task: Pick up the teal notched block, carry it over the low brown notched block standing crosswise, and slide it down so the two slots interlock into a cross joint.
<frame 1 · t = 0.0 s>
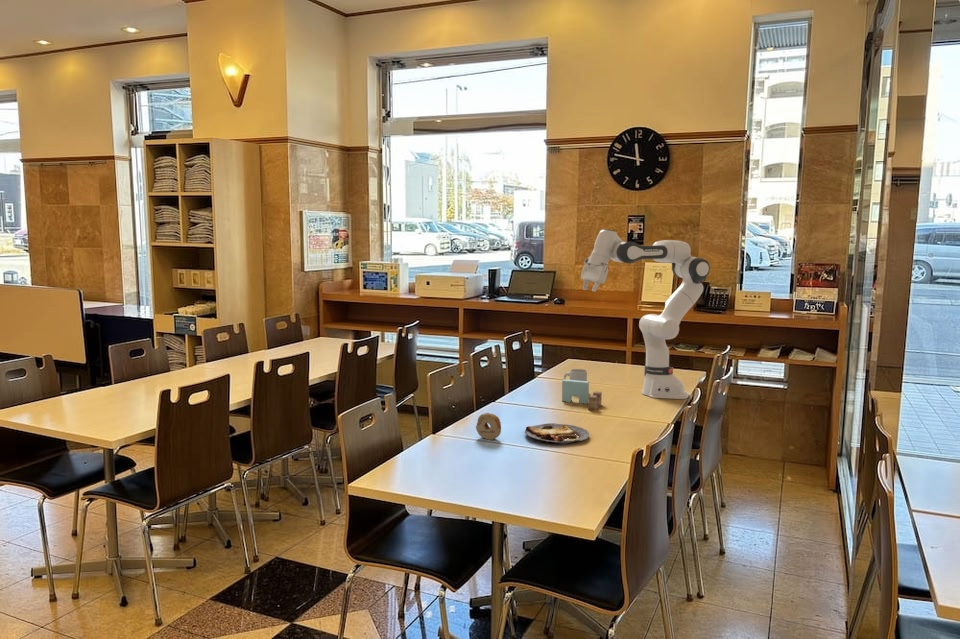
hand: (589, 290, 324), 52 cm above the table, tool tilted 20°, fingers open, 8 cm apart
food plate: (556, 437, 270), on the table
mug: (574, 392, 346), on the table
brown notched block: (594, 407, 315), on the table
teal notched block: (575, 401, 325), on the table
stone disc: (489, 439, 267), on the table
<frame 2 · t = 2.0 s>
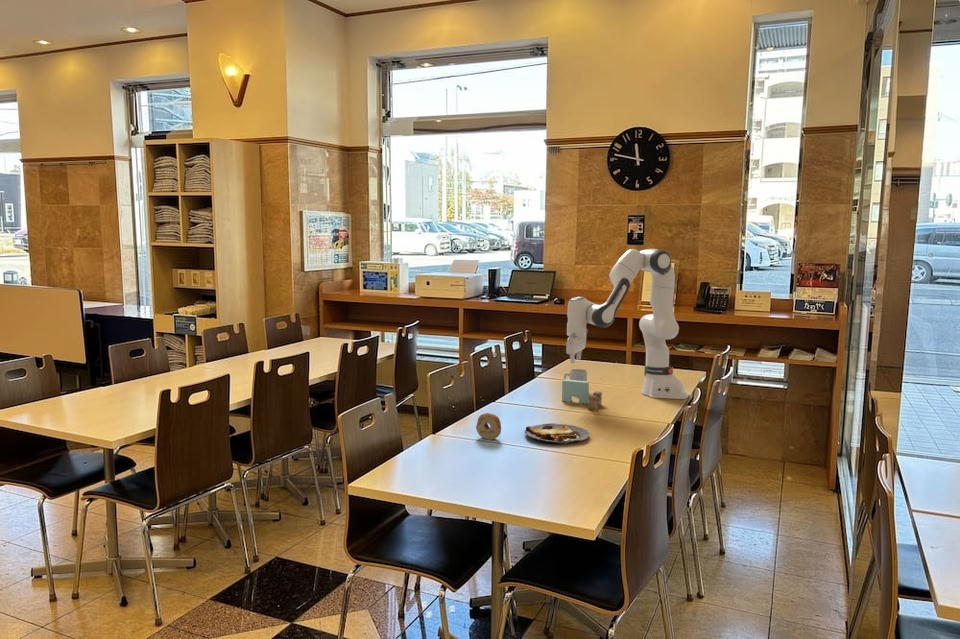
hand: (575, 361, 323), 19 cm above the table, tool pointing down, fingers open, 8 cm apart
nothing on the table moved.
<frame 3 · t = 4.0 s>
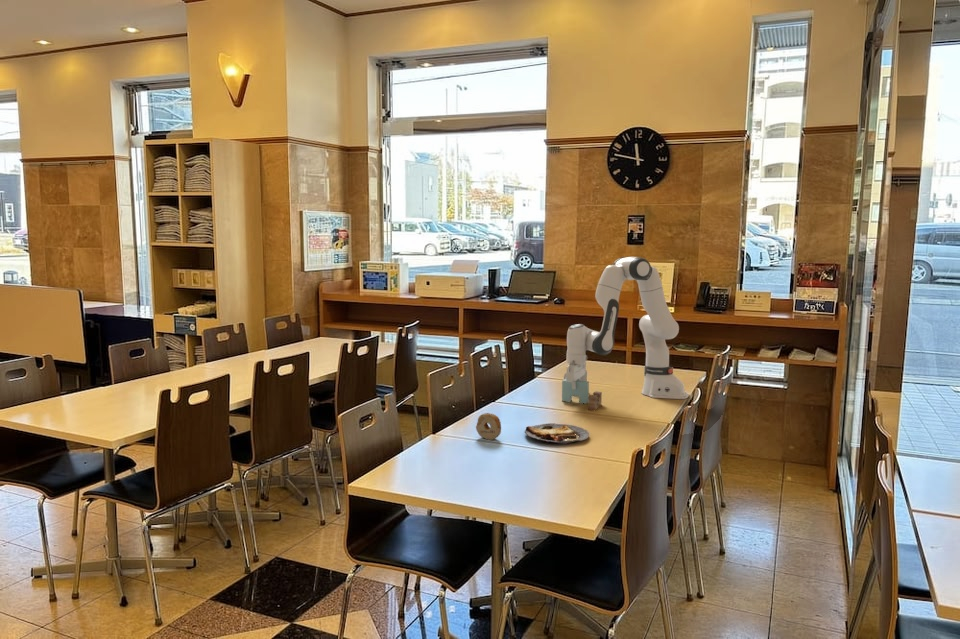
hand: (575, 388, 324), 7 cm above the table, tool pointing down, fingers closed on teal notched block, 3 cm apart
teal notched block: (575, 401, 325), on the table, touching gripper
everything else where it was.
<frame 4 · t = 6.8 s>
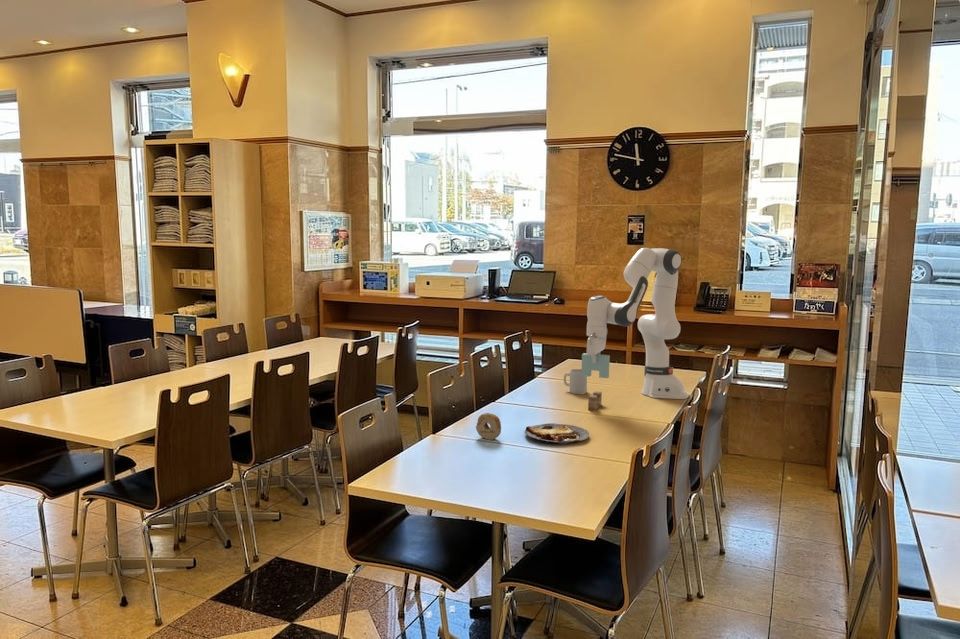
hand: (595, 362, 312), 21 cm above the table, tool pointing down, fingers closed on teal notched block, 3 cm apart
teal notched block: (595, 376, 313), point 14 cm above the table, touching gripper
everything else where it was.
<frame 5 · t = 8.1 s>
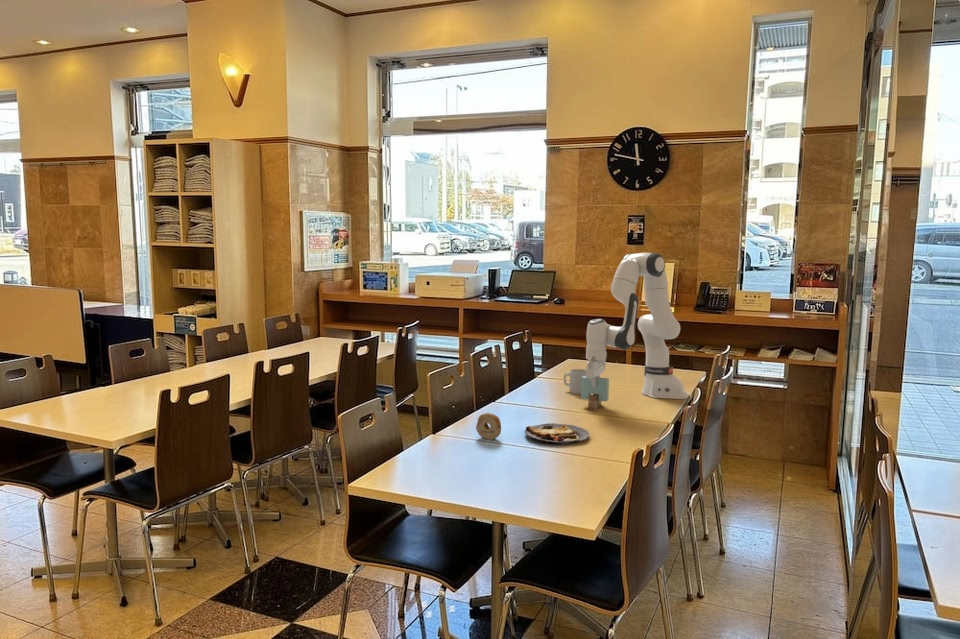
hand: (595, 385, 314), 10 cm above the table, tool pointing down, fingers closed on teal notched block, 3 cm apart
teal notched block: (594, 399, 315), point 4 cm above the table, touching gripper
everything else where it was.
when the fingers open (8 cm above the table, at t = 9.2 s): teal notched block stays where it is, resting on brown notched block.
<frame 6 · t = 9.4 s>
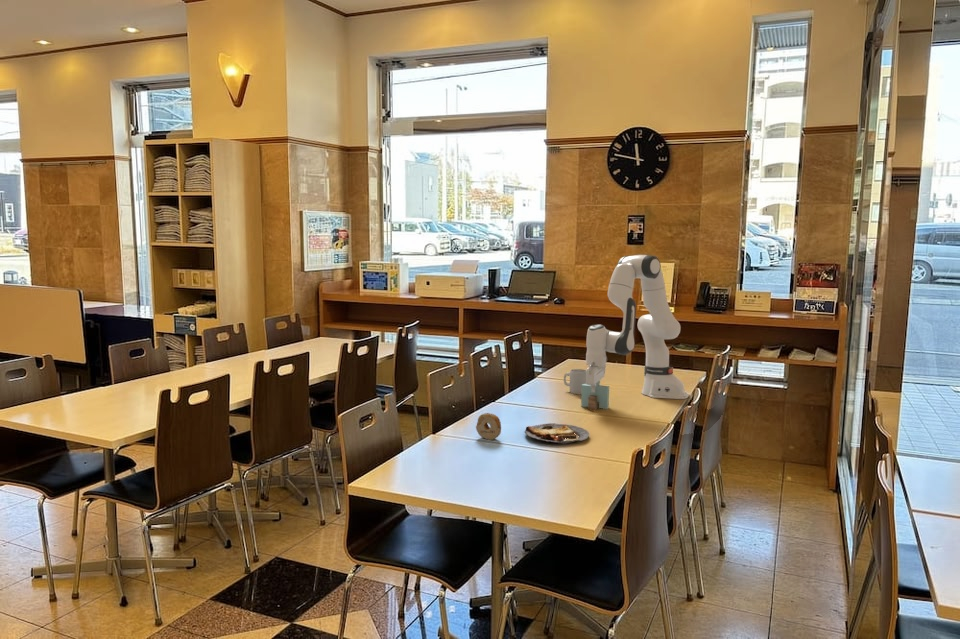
hand: (595, 390, 314), 8 cm above the table, tool pointing down, fingers open, 4 cm apart
teal notched block: (594, 407, 315), resting on brown notched block
everything else where it was.
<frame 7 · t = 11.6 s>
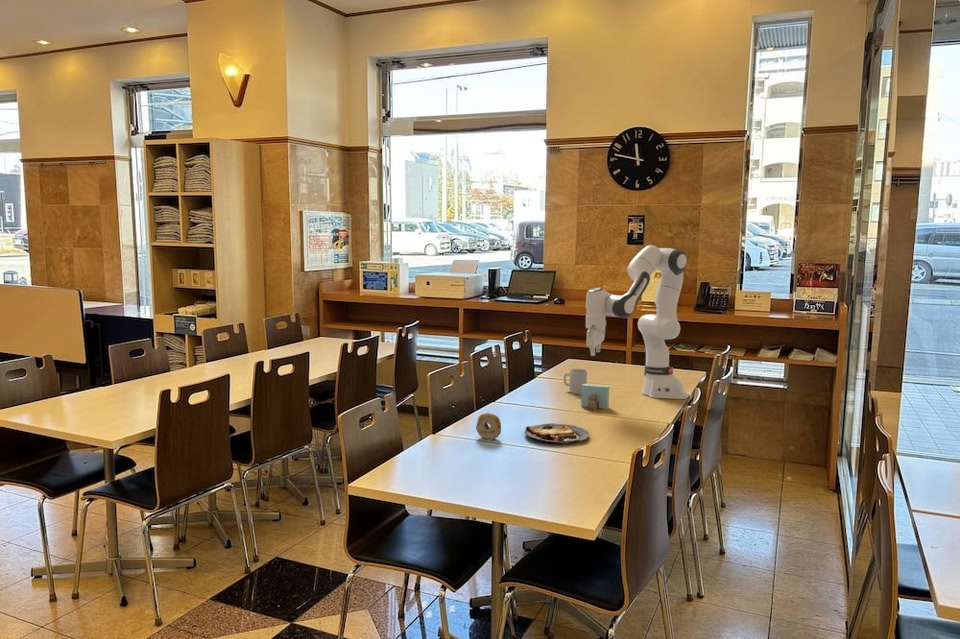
hand: (595, 353, 316), 24 cm above the table, tool pointing down, fingers open, 8 cm apart
nothing on the table moved.
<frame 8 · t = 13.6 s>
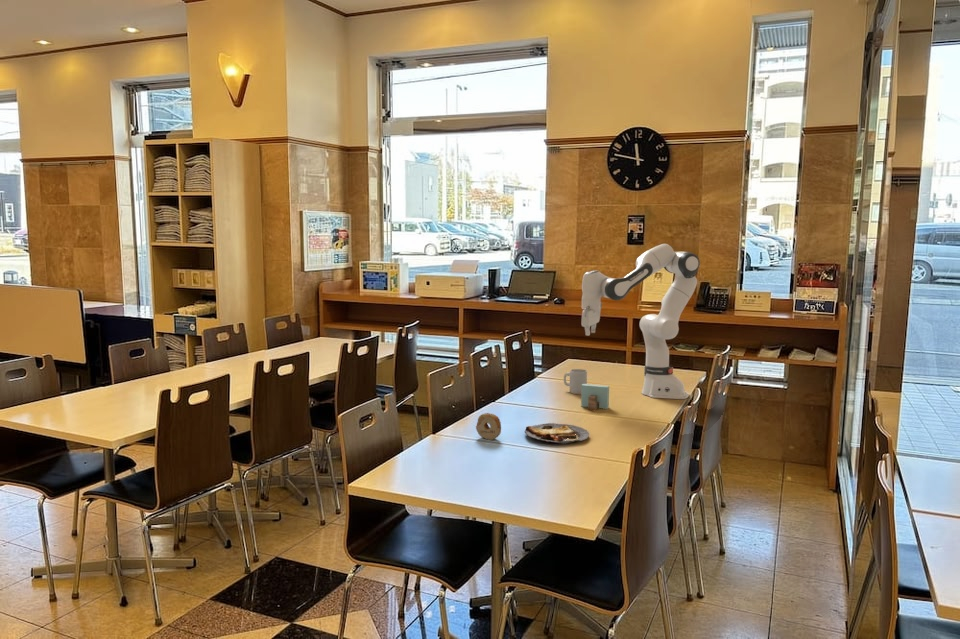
hand: (590, 334, 329), 31 cm above the table, tool pointing down, fingers open, 8 cm apart
nothing on the table moved.
at the end: teal notched block 0.1 cm off-centre on the brown notched block, point 0.0 cm above the brown notched block's base; teal notched block tilted 0°; the gripper is holding nothing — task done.
